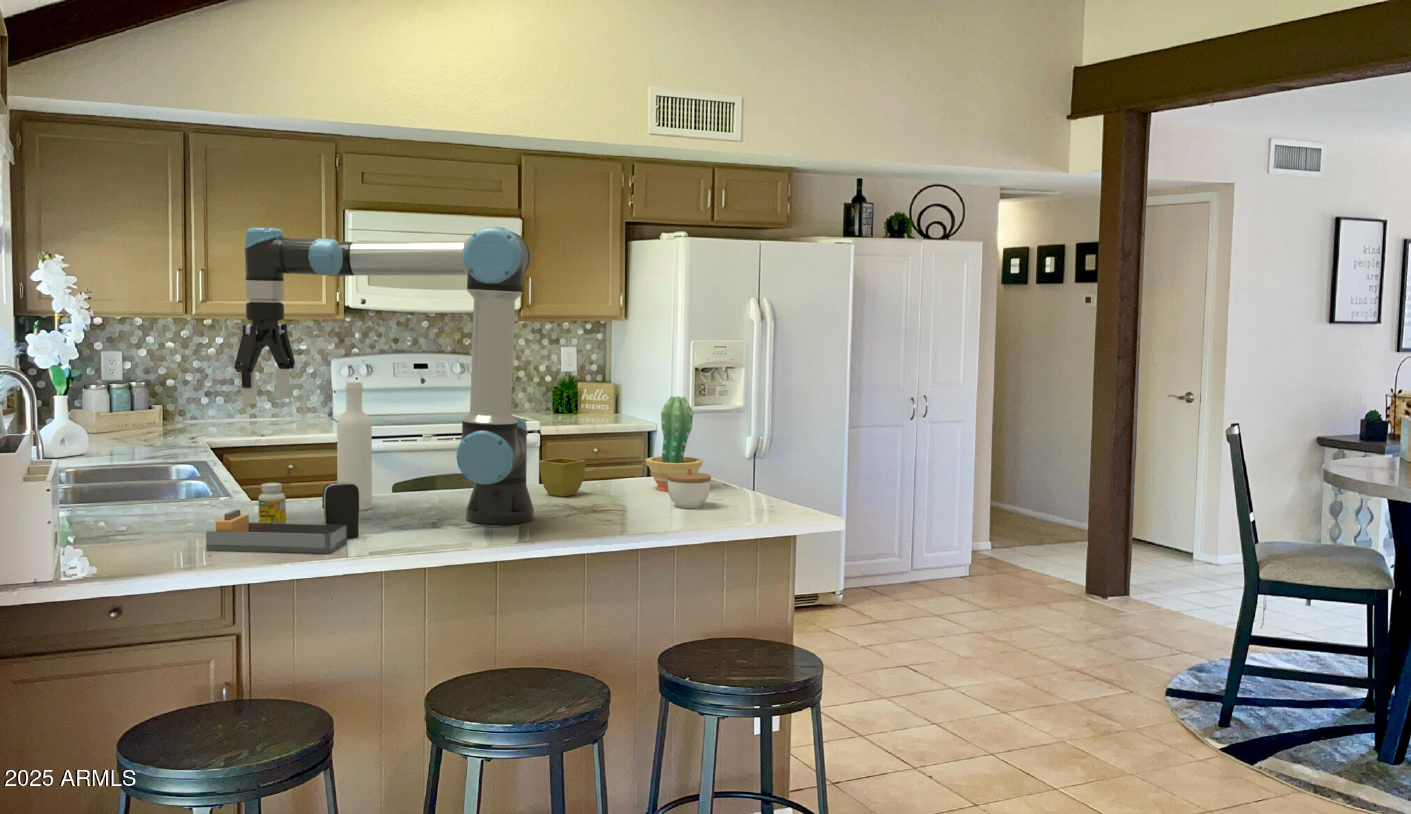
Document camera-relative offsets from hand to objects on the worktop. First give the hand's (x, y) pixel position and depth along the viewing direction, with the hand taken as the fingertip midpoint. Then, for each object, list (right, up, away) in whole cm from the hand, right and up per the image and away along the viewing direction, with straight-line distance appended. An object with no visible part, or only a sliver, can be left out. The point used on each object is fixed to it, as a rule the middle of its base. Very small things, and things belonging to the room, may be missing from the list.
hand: (266, 401), depth 245 cm
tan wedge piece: (0, -27, -19) cm, 33 cm away
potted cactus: (+85, -24, +63) cm, 108 cm away
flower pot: (+57, -24, +49) cm, 79 cm away
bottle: (+11, -25, +24) cm, 37 cm away
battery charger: (+19, -28, -9) cm, 35 cm away
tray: (+9, -29, -19) cm, 36 cm away
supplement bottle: (+2, -27, -1) cm, 27 cm away
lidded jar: (+90, -26, +38) cm, 101 cm away
